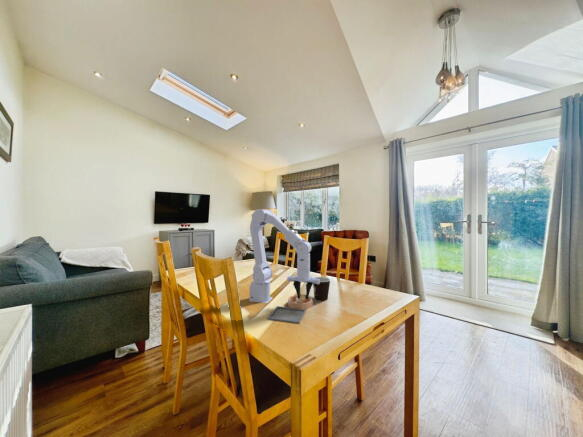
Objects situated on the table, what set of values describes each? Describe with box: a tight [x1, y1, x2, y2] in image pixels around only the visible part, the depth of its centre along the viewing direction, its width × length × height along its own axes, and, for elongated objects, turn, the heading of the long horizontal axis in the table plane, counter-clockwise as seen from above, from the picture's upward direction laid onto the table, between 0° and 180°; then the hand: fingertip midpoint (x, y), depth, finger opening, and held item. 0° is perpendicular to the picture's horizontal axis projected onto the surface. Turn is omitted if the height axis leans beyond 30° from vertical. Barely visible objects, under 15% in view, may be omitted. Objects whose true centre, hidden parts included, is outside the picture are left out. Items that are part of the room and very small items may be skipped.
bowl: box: [287, 294, 314, 310], centre depth 107 cm, size 11×11×3 cm
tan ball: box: [300, 293, 306, 301], centre depth 106 cm, size 3×3×3 cm
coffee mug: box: [312, 276, 331, 302], centre depth 117 cm, size 12×9×10 cm
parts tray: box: [267, 305, 307, 325], centre depth 96 cm, size 13×12×1 cm
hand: (303, 298), depth 106 cm, fingers closed on tan ball, 3 cm apart
